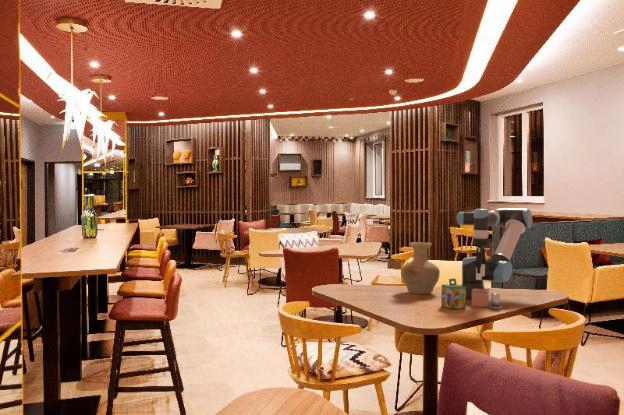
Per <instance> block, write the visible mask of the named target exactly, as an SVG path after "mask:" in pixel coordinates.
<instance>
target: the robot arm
mask: <svg viewBox="0 0 624 415" xmlns="http://www.w3.org/2000/svg"><path fill="white" fill-rule="evenodd" d="M456 223H457V225H460V226H473V245H474V246H477V247H476V253H475V254H476V255H475V256H470V257H464V258H463V259H462V263H461V285H462V286H466V300H472V290H473V289H474V288H477V289H486V288H485V285H484V281H487V282H488V281H489V282H496V283H505V282H507V281H509V279H510V278H511V277H512V275H513V272H512V271H513V264H512V263H511V258H512V256H513V254H514V252H515V248H516V246H517V243H518V242H519V239H520V236H521V235H522V234H524V233H525V232H526V230H527V229H531V228H532V227H533V213H532V211H531V209H530V208H525V207H520V208H519V207H517V208H516V207H502V208H493V209H487V208H475V209H473V211H459V212H458V213H457V214H456ZM495 226H497V227H501V228H505V230H504V232H503V234H502V236H501V239H500V241H499V244H498V246H497V248H496V250H495V252H494V253H493V254H491V255H490V257H489V258H488V259H486V246H489V234H490V232H489V227H495Z"/></svg>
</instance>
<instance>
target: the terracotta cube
mask: <svg viewBox="0 0 624 415" xmlns="http://www.w3.org/2000/svg"><path fill="white" fill-rule="evenodd" d="M488 305H490V289H488V288H487V289H486V288H485V289H477V288H474V289H473V290H472V299H471V307H480V308H481V307H482V308H483V307H484V308H488Z"/></svg>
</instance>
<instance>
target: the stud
mask: <svg viewBox="0 0 624 415" xmlns="http://www.w3.org/2000/svg"><path fill="white" fill-rule="evenodd" d="M487 308H488V309H490V310H496V311H497V310H498V309H500V310H503V306H502V305H501V293H498V292H491V293H490V304H489V305H488V307H487ZM498 311H499V310H498Z"/></svg>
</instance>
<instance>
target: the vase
mask: <svg viewBox="0 0 624 415" xmlns="http://www.w3.org/2000/svg"><path fill="white" fill-rule="evenodd" d="M408 244H409V246H410V247H411V248H412V250H413V257H412V258H413V259H412V260H411V261H409V262H407V263H405V264H403V266H402V267H401V270H400V272H401V273H400V274H401V278H402V279H401V280H402V281H403V283H404V284H405V286H406V289H407V291H408V292H409V293H412V294H416V295H427V294H431V293H433V291H434V287H435V286H436V285H437V283H438V281H439V280H440V273H441V272H440V268H439V267H438V266H437V265H436V264H435V263H432V262H430V261H429V260H428V249H429V248H430V247H432V245H433V244H432V243H431V242H424V241H423V242H422V241H421V242H420V241H416V242H415V241H413V242H409V243H408Z"/></svg>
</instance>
